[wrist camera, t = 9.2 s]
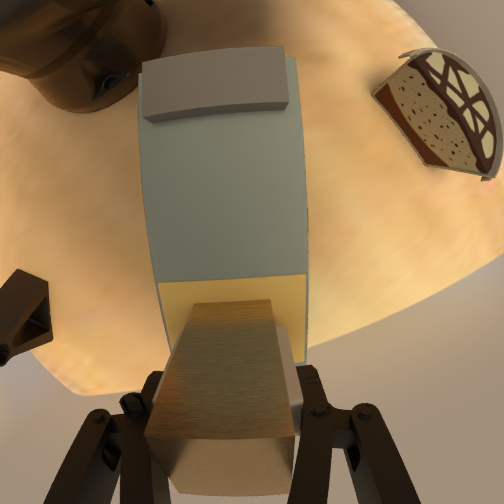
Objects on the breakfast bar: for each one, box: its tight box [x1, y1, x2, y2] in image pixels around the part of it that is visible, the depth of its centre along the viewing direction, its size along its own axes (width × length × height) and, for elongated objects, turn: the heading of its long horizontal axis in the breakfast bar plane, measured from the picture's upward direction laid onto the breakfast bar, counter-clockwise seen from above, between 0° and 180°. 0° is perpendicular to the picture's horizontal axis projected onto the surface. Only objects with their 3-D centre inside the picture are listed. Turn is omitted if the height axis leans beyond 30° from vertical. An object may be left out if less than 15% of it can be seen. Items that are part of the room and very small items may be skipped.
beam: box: [138, 46, 308, 366], centre depth 17 cm, size 22×10×4 cm, turn 4°
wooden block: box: [144, 299, 295, 496], centre depth 13 cm, size 5×5×11 cm
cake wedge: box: [371, 48, 504, 182], centre depth 18 cm, size 12×6×10 cm, turn 45°
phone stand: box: [0, 269, 53, 367], centre depth 22 cm, size 9×6×12 cm, turn 165°
